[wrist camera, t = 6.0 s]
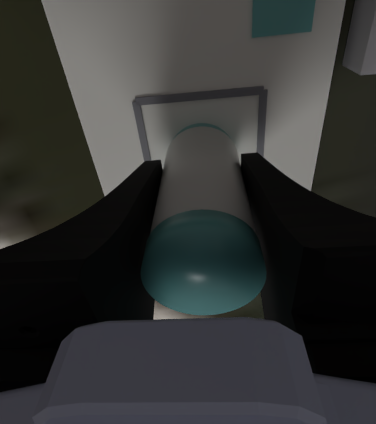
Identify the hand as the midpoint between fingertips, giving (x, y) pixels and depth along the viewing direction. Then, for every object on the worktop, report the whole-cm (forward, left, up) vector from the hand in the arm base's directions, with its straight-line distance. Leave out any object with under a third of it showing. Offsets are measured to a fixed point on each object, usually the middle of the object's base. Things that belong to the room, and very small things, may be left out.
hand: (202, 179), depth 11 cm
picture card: (0, 0, -3) cm, 3 cm away
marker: (0, 0, -2) cm, 2 cm away
